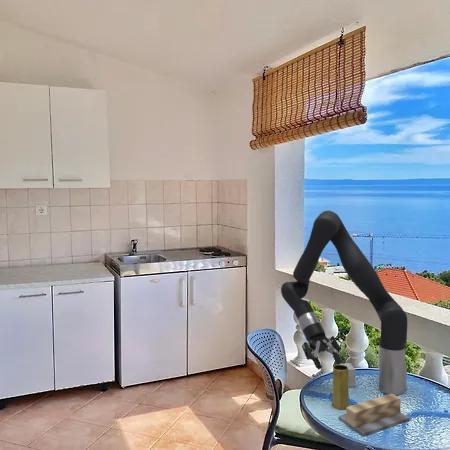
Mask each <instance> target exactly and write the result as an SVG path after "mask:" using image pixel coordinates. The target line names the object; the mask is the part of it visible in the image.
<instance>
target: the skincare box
mask: <svg viewBox="0 0 450 450" xmlns="http://www.w3.org/2000/svg"><path fill="white" fill-rule="evenodd" d="M340 364H341V365H345V366H347V367H348V387H349V388H356V382H357V381H356V368H355V367H354V366H353V364H352V363H351V362H346V363H345V362H344V363H340ZM335 365H337V364H336V363H335Z"/></svg>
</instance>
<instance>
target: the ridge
mask: <svg viewBox="0 0 450 450" xmlns="http://www.w3.org/2000/svg"><path fill="white" fill-rule="evenodd" d="M401 406H402V405H401V397H399V396H398V395H394V394H386V395H385V394H384V395H382V396H379V397H376V398H373V399H369V400H365V401H362V402H360V403H359V402H358V403H356V404H353V405H349V407H346V409H345V410H346V411H345V412H346V413H344V414H340V415H338V420H339V421H340V422H342V423H344V424H345V426H348V427H350V428H351V429H352V430H353V431H355V432H356V433H357V434H359V435H360V436H362V437H365V436H366V437H367V436H369V435H371V434H375V433H377V432H380V431H383V430H386V429H389V428H392V427H394V426H397V425H401V424H403V423H406V422H409V421H410V417H409V416H407V415H406V414H404V413H402V412H401Z"/></svg>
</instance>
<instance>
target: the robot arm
mask: <svg viewBox="0 0 450 450" xmlns="http://www.w3.org/2000/svg"><path fill="white" fill-rule="evenodd" d="M329 242H331V243H332V244H333V246H334V248H335V250H336V252H337V254H338V257H339V260H340V262H341V265H342V267H343V270H344V271H345V273H346V274H347V276H348V277H349V279H350V280H351V281H352V282H353V284H354V285H355V286H356V287H357V289H358V290H359V291H360V292H361V293H362V294H363V295H365V296H366V298H367V299H368V301H369V302H370V304H371V305H372V307H373V309H374V311H375V312H376V314H377V315H378V318H379V321H380V338H378V339H379V341H378V345H379V346H378V348H379V349H378V389H379V391H381V392H382V393H384V394H386V395H388V394H394V395H396V396H399V395H403V394H404V393H405V392H406V391H407V379H408V378H407V376H408V375H407V374H408V369H407V368H408V367H407V365H406V344H407V343H406V342H407V339H408V315H407V313H406V311H405V310H404V309H403V307H402V306H401V305H400V304H398V302H397V301H396V300H395V299H394V298H393V297H392V296H391V295H390V293H389V292H388V290H387V289H386V288H385V286H384V285H383V283H382V280H381V278H380V277H379V275H378V273H377V271H376V270H375V268H374V266H373V265H372V263H370V261H369V259H368V258H367V257H366V255H365V254H364V253H363V252H362V250H361V249H360V248H359V246H358V244H356V242H355V241H354V239H353V238H352V236H351V235H350V233H349V231H348V230H347V228H346V227H345V225H344V223H343V221H342V219H341V217H340V216H339V215H338V214H337V212H334V211H332V210H323V211H322V212H321V213H319V215H318V216H317V217H316V218H315V220H314V221H313V225H312V229H311V232H310V236H309V239H308V242H307V244H306V246H305V248H304V250H303V252H302V254H301V255H300V257H299V259H298V261H297V264H296V265H295V267H294V269H293V272H292V277H293V279H295V281H286V282H284V283H283V284H281V287H280V293H281V296H282V298H283V300H284V301H285V302H286V304H287V305H288V306H289V307H290V309H291V310H292V311H293V312H294V314H295V316H296V318H297V321H298V324H299V326H300V329H301V332H302V333H303V336H304V338H305V340H306V341H305V342H303V344H301V347H302V350H303V352H304V356H305V357H306V360H307V361H309V360H311V361H312V362H313V363H314V366H315V368H316V369H317V370H321V369H322V368H323V364H322V363H321V360H320V359H319V357H318V354H319V353H321V352H327V353H329V354H330V355H332V357H333V360H334V362H335V365H336V364H342V359H341V356H340V355H339V352H340V351H341V350H342V349H341V347H340V344H339V343H338V341H337V339H336V337H335V336H334V335H333V336H331V337H329V338H328V337H327V336H326V332H325V330H324V328H323V325H322V324H321V322H320V320H319V318H318V316H317V315H316V313H315V311H314V309H313V307H312V305H311V303H310V302H309V301H308V300H307V299H306V300H305V299H303V298H305V296H306V295H307V294H308V290H309V286H310V281H311V277H312V276H313V274H314V272H315V270H316V269H317V265H318V263H319V260H320V258H321V255H322V253H323V251H324V250H325V248H326V247H327V245H328V244H329ZM310 348H311V349H312V351H311V349H310Z"/></svg>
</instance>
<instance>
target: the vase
mask: <svg viewBox="0 0 450 450" xmlns="http://www.w3.org/2000/svg"><path fill="white" fill-rule="evenodd" d="M341 364H342V363H340V364H337V365H336V364H335V365H333V367H332V396H331V397H332V398H331V406H332V407H333V408H335V409H337V410H346V407H349V406H350V392H349V388H350V387H348V367H347V366H345V365H341Z"/></svg>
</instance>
